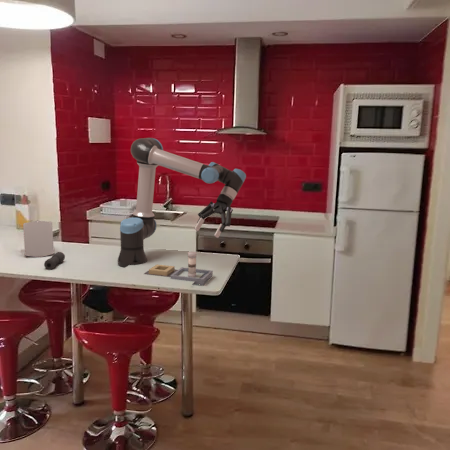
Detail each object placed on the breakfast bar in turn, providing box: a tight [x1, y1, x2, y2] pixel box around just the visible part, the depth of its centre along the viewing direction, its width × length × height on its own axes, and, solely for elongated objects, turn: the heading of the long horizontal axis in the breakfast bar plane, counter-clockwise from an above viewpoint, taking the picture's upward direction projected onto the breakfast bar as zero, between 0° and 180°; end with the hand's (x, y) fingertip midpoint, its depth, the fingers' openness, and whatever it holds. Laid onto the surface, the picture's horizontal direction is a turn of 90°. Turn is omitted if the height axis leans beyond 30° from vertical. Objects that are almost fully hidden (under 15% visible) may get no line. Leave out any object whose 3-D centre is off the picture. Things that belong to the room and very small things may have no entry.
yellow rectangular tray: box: [143, 264, 178, 278], centre depth 227 cm, size 14×12×4 cm
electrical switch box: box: [22, 219, 55, 258], centre depth 259 cm, size 14×15×20 cm
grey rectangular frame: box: [170, 267, 214, 286], centre depth 222 cm, size 16×14×3 cm
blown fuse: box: [187, 251, 197, 278], centre depth 221 cm, size 4×4×12 cm
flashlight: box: [43, 251, 66, 270], centre depth 239 cm, size 15×5×5 cm, turn 179°
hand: (205, 233), depth 229 cm, fingers open, 13 cm apart
